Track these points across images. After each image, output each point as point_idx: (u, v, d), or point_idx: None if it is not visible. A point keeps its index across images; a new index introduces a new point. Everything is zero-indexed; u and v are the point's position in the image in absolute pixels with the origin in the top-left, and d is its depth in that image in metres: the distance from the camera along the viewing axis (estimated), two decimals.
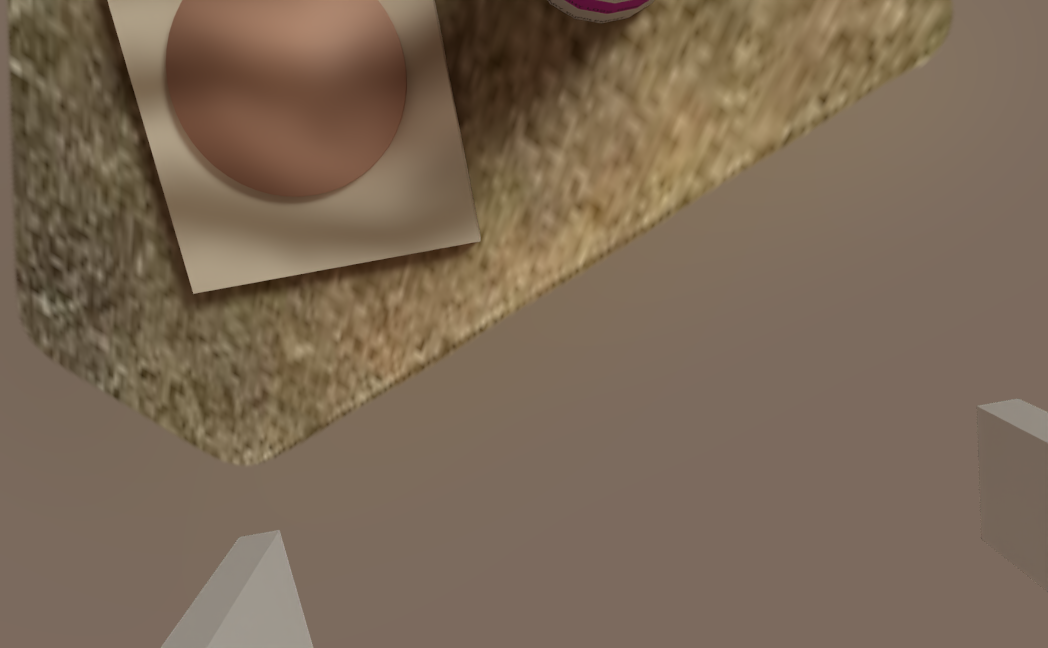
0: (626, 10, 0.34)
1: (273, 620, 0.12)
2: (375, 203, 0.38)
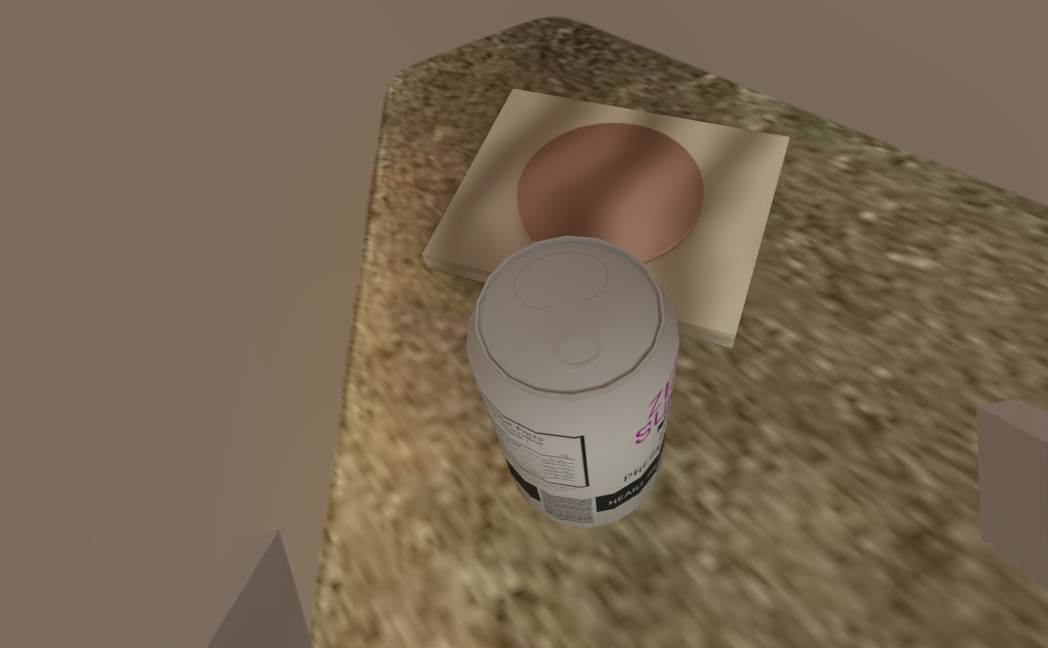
0: None
1: (273, 620, 0.12)
2: (494, 205, 0.47)
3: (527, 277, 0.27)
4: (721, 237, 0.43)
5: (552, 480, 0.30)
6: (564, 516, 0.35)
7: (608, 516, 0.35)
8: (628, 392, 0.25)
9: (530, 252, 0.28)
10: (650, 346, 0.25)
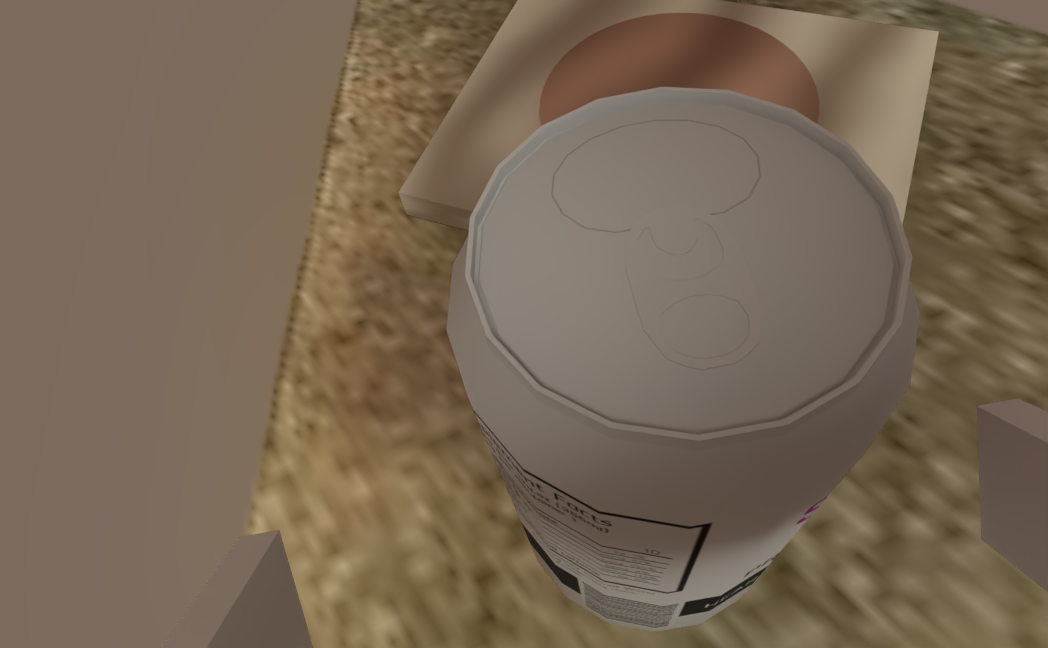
0: None
1: (273, 620, 0.12)
2: (506, 124, 0.32)
3: (580, 169, 0.13)
4: None
5: (611, 580, 0.16)
6: (619, 617, 0.20)
7: (694, 619, 0.20)
8: (832, 428, 0.10)
9: (584, 123, 0.13)
10: (882, 319, 0.10)
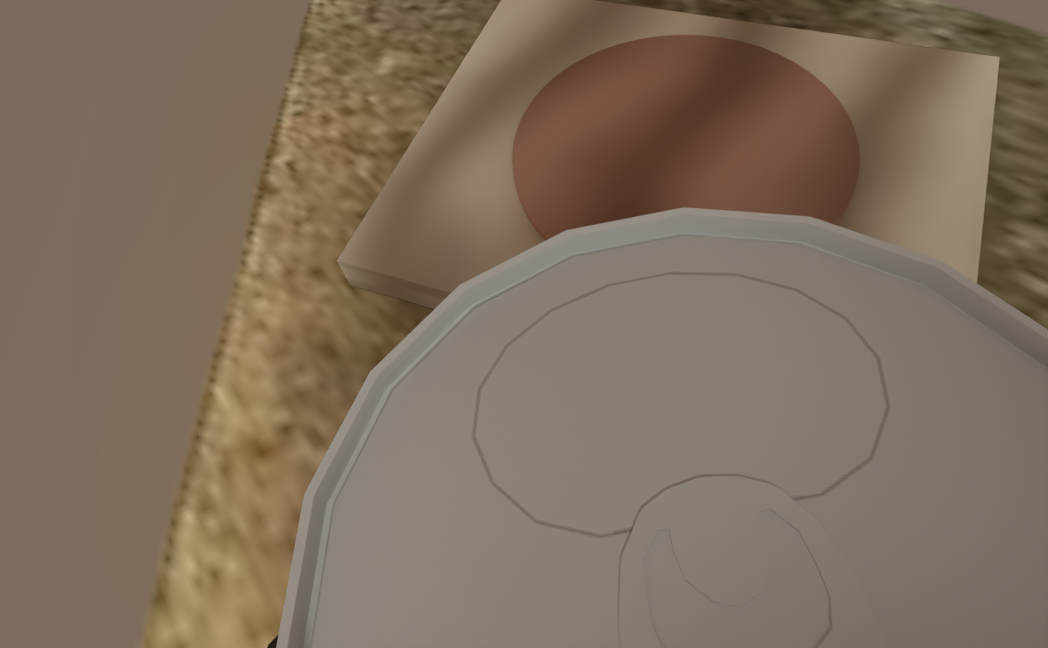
0: None
1: None
2: (472, 173, 0.26)
3: (531, 379, 0.06)
4: (900, 233, 0.23)
5: None
6: None
7: None
8: None
9: (542, 272, 0.07)
10: None
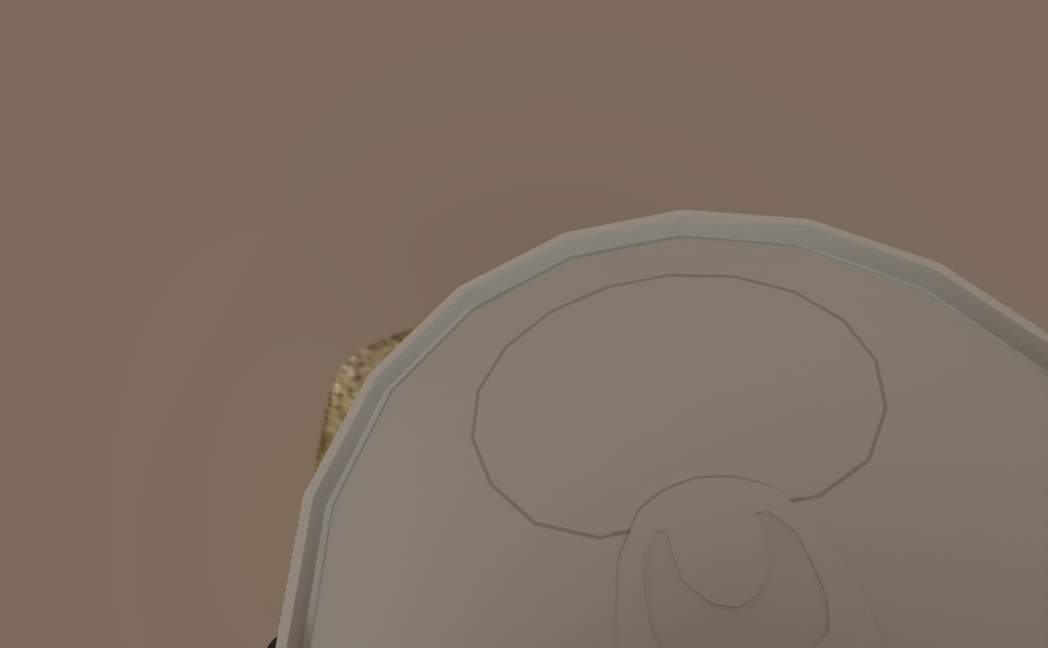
0: None
1: None
2: None
3: (530, 380, 0.07)
4: None
5: None
6: None
7: None
8: None
9: (541, 274, 0.07)
10: None
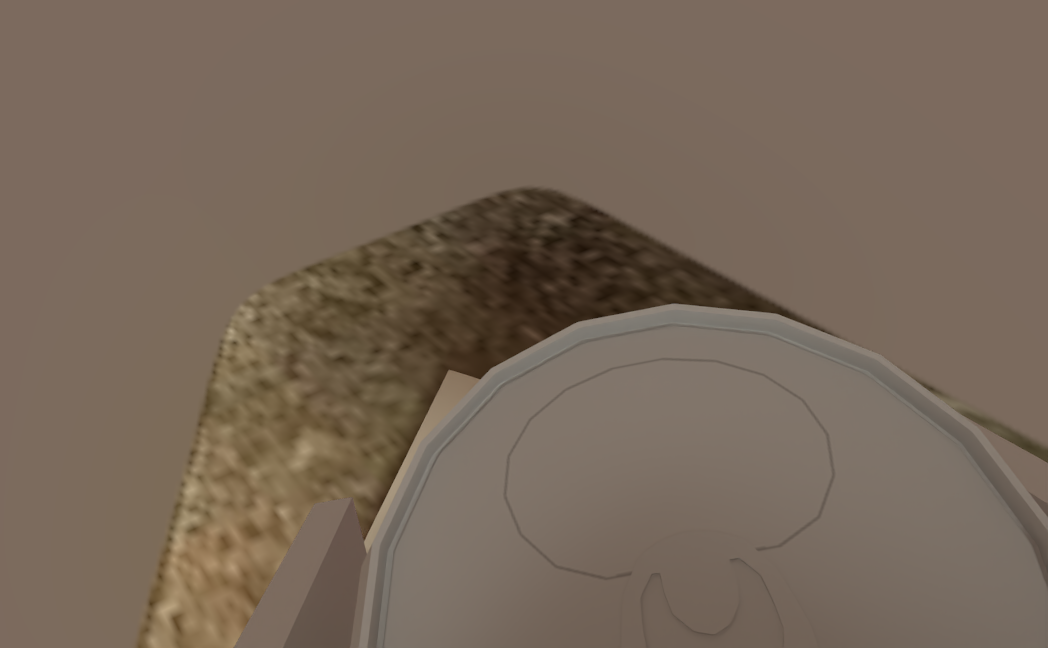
0: None
1: (352, 579, 0.13)
2: None
3: (551, 447, 0.08)
4: None
5: None
6: None
7: None
8: None
9: (557, 355, 0.09)
10: None
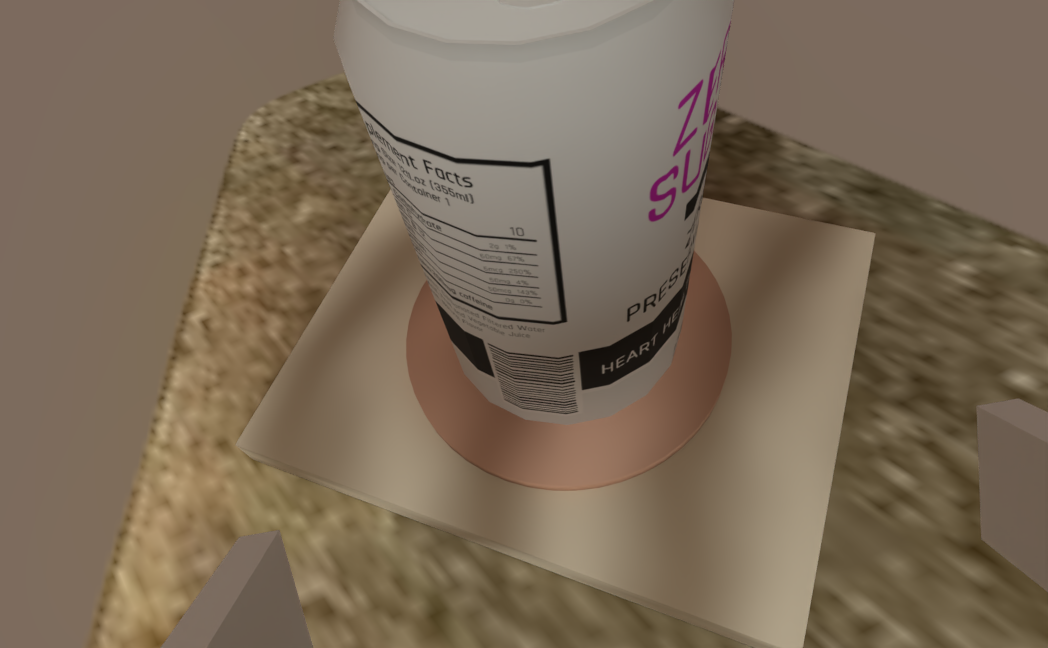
0: None
1: (273, 620, 0.12)
2: (370, 349, 0.27)
3: None
4: (765, 429, 0.24)
5: (503, 312, 0.18)
6: (532, 401, 0.22)
7: (601, 401, 0.22)
8: (638, 53, 0.12)
9: None
10: None
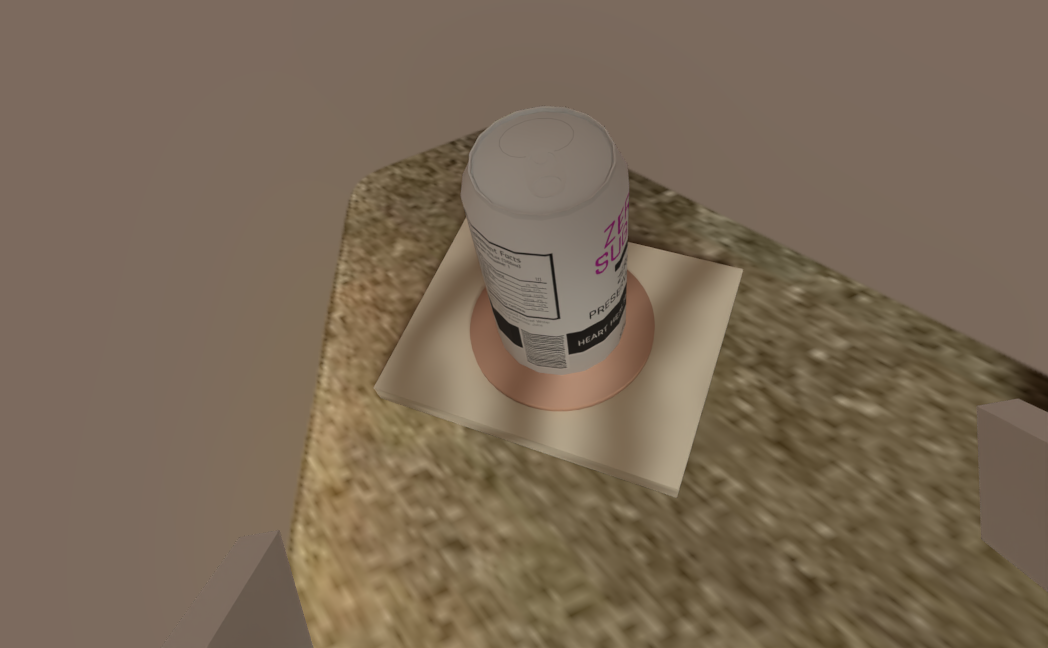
0: None
1: (273, 620, 0.12)
2: (448, 335, 0.47)
3: (509, 136, 0.34)
4: (670, 379, 0.43)
5: (530, 314, 0.37)
6: (542, 361, 0.42)
7: (579, 361, 0.42)
8: (586, 215, 0.32)
9: (512, 119, 0.35)
10: (603, 181, 0.32)
